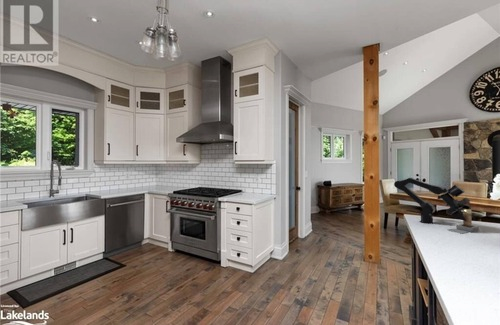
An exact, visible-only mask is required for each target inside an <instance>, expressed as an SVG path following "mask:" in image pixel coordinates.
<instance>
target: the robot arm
mask: <svg viewBox="0 0 500 325" xmlns="http://www.w3.org/2000/svg"><path fill="white" fill-rule="evenodd" d="M408 184H412V185H415V186H417V187H420V188H422V189H423V188H424V189H426V190H428V191H429V192H431V193H433V194H434V195H437V198H436V199H437V200H439V201H440V200H442V201H444V203H445V205H446V206H447V207H449V208H447V209H445V212H446V214H447V215H450V216H453V217H455V218H458V219H460V220H462V221H463V220H464V221H467V220H466V218H465V217H464V216H463V209H471V210H472V209H473V206H472V205H470V204H471V200H470V199H469V198H467V197H464V198H462V199H456V198H458V197H459V196H461V195H463V194H464V193H465V190H463V188H462V187H460V186H458V185H456V184H454V185H453V186H451V187H450V188H445V187H443V186H440V185H437V184H430V183H427V182H424V181H421V180H418V179H415V178H414V177H408V178H405V179H403V180H402V179H401V180H396V181H395V182H394V184H393V185H394V187H395V188H396V189H397V190H400V191H401V192H404V193H405V194H406V195H407V196H408V197H410V199H412V200H413V201H415V202H416V204H418V205H419V206H420V208H421V209H422V210H421V211H419V212H420V213H419V214H420V221H419V222H420V223H423V224H427V225H430V224H434V217H433V213H435V211H436V206H435V204H433V203H431V202H430V201H425V200H424V199H423V198H421V197H420V196H419V195H418V194H416V193H415V192H414V191H413V190H411V189H410V188H409V187H408ZM455 197H456V198H455ZM471 217H472V221H474V220H475V218H474V215H473V214H472V213H471Z"/></svg>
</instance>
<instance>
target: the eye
mask: <svg viewBox="0 0 500 325" xmlns="http://www.w3.org/2000/svg"><path fill="white" fill-rule="evenodd" d="M455 226H456V229H458V230H463V231H467V232H468V233H470V234H471V233H477V232H480V231H479V230H480V227H479V226H477V225H472V227H466V226H463V223H460V224H456V225H455Z"/></svg>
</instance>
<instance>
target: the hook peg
mask: <svg viewBox="0 0 500 325" xmlns="http://www.w3.org/2000/svg"><path fill="white" fill-rule="evenodd" d="M471 214H472V208H471V209H463V214H462V215H463V216H464V217H465V218H466V220H467V221H464V220H462V222H463V223H462V224H463V226H466V227H472V221H473V220H472V217H471Z"/></svg>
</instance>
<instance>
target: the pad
mask: <svg viewBox="0 0 500 325" xmlns="http://www.w3.org/2000/svg"><path fill="white" fill-rule="evenodd" d="M447 231H448V232H453V233H457V234H460V235H463V234H467V233H469V232H467V231H463V230H458V229H457V228H449V229H447Z"/></svg>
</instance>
